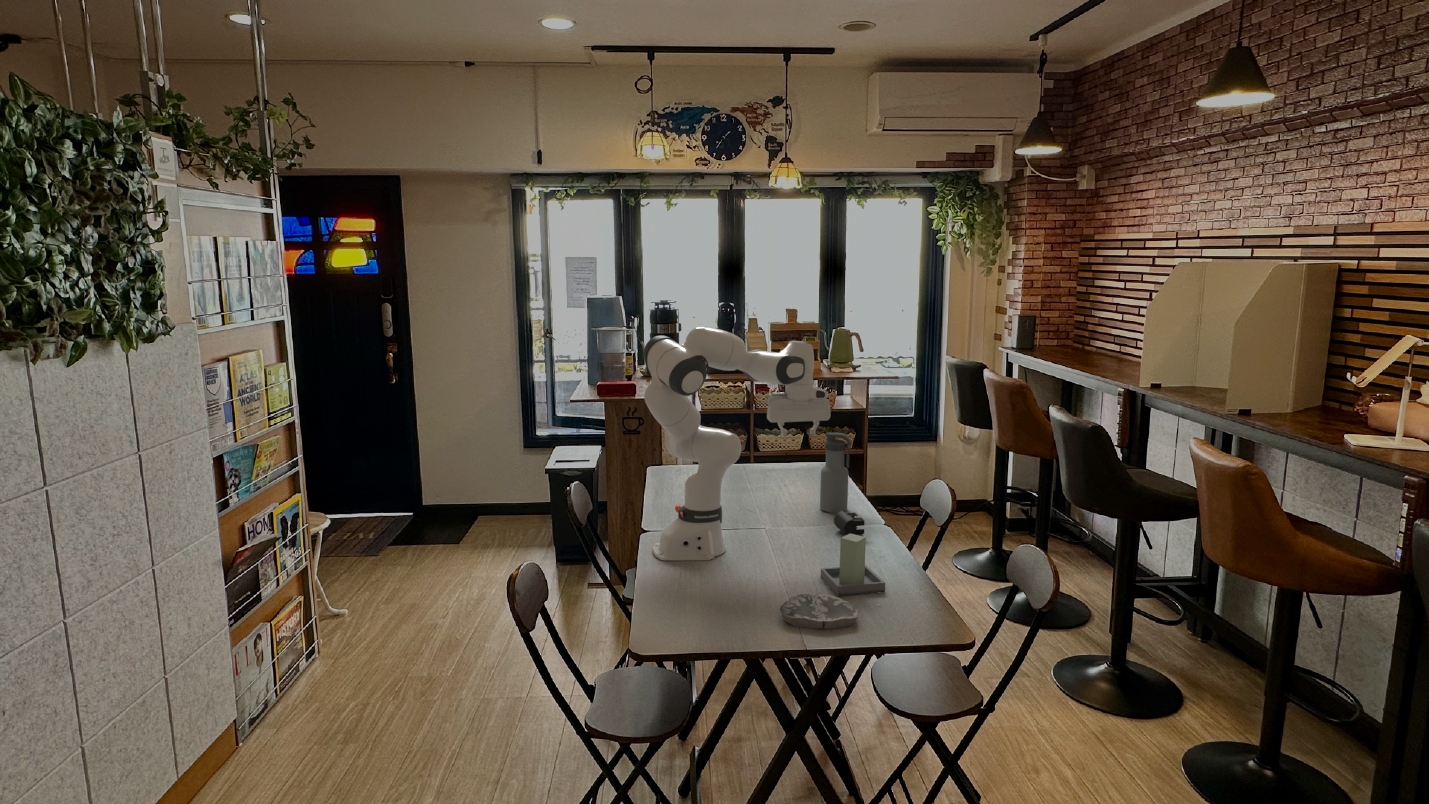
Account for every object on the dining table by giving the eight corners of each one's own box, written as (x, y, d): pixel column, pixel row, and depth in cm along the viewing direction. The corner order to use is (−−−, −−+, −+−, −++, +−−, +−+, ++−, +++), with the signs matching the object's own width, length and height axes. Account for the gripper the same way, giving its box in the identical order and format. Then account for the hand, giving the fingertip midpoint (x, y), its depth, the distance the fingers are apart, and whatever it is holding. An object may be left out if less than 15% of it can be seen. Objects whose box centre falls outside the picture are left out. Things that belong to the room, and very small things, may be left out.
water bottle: (847, 506, 308) (850, 431, 303) (849, 514, 299) (851, 436, 294) (819, 505, 309) (821, 430, 304) (820, 513, 300) (822, 436, 295)
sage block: (855, 587, 231) (856, 541, 228) (839, 582, 234) (840, 537, 232) (864, 581, 234) (865, 537, 232) (848, 577, 238) (849, 533, 235)
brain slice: (849, 604, 222) (849, 593, 222) (862, 632, 206) (863, 620, 205) (775, 604, 222) (775, 594, 221) (782, 633, 205) (782, 621, 204)
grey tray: (837, 596, 226) (837, 586, 226) (820, 577, 239) (820, 568, 239) (884, 592, 229) (885, 582, 229) (865, 574, 242) (865, 564, 242)
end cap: (833, 530, 281) (833, 511, 280) (853, 529, 282) (853, 509, 281) (843, 540, 271) (844, 520, 270) (864, 538, 273) (865, 518, 272)
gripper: (770, 394, 260) (769, 438, 262) (833, 392, 264) (831, 435, 266) (764, 391, 266) (763, 434, 268) (826, 389, 270) (825, 431, 272)
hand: (798, 435), depth 267 cm, fingers open, 8 cm apart
